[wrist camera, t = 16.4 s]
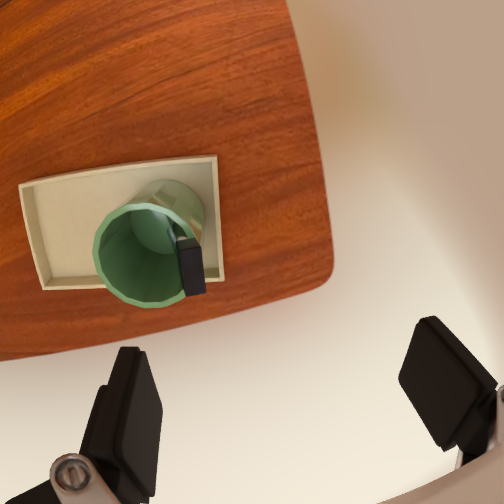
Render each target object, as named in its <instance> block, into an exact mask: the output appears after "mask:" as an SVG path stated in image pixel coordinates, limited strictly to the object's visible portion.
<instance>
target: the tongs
mask: <svg viewBox="0 0 504 504" xmlns="http://www.w3.org/2000/svg"><path fill="white" fill-rule="evenodd" d="M165 216H166V218H167V220H168V222H169V225H170V227H169V228H168V229H167V235H168V237H169V240H170V242H171V245H172V248H173V250H174V253H175V255H176V258H177V260H178V266H179V273H180V280H181V285H182V288H183V290H184V293H185V296H186V297H189V296H194V295H199V294H203V293H206V283H205V275H204V266H203V257H202V247H201V246H200V244H199V242H198V241H197V239H196V238H190V239H188V237H187V235H186V234H185V232H184V230H183V228H182V227H181V226H179V225H178V224H177V223H176V222H174V221H173V220H172V219H171V218H170V217H168V216H167V215H165Z"/></svg>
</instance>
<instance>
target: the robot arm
mask: <svg viewBox="0 0 504 504" xmlns="http://www.w3.org/2000/svg"><path fill="white" fill-rule="evenodd" d="M398 377H399V378H398V380H399V383H400V385H401V387H402V388H403V390H404V392H405V393H406V395H407V396H408V398H409V400H410V401H411V402H412V404H413V406H414V408H415V409H416V411H417V413H418V414H419V416H420V418H421V419H422V421H423V423H424V424H425V426H426V428H427V429H428V431H429V433H430V435H431V436H432V438H433V440H434V441H435V443H436V445H438V446H439V447H441V448H442V450H443V452H445V451H447V450H449V449H451V448H453V447H455V446H456V444H457V445H458V447H459V450H458V456H457V461H456V466H455V470H454V471H453V472H451V473H449V474H447V475H445V476H443V477H441V478H439V479H437V480H434V481H432V482H430V483H428V484H426V485H424V486H421V487H419V488H417V489H414V490H412V491H410V492H407V493H405V494H402V495H400V496H397V497H395V498H392V499H389V500H386V501H383V502H381V503H378V504H504V385H503V386H501V387H500V388H499V389H498V391H496V390H495V388H496V386H497V385H498V383H497V382H496V380H495V379H494V378H493V377H492V376H491V375H490V374H489V372H488V371H487V370H486V369H485V368H484V367H483V366H482V364H481V363H480V362H479V361H478V360H477V359H476V358H475V357H474V356H473V355H472V353H471V352H470V351H469V350H468V349H467V348H466V347H465V346H464V345H463V344H462V342H461V341H460V340H459V339H458V338H457V337H456V336H455V335H454V334H453V333H452V332H451V331H450V330H449V329H448V328H447V327H446V326H445V325H444V324H443V323H442V322H441V321H440V319H438V318H437V317H436V316H429V317H425V318H421V319H420V320H419V322H418V323H417V324H416V326H415V330H414V333H413V336H412V339H411V342H410V345H409V348H408V351H407V354H406V357H405V359H404V362H403V365H402V368H401V370H400V373H399V376H398ZM162 415H163V409H162V403H161V400H160V398H159V394H158V392H157V389H156V385H155V382H154V379H153V376H152V373H151V369H150V366H149V363H148V359H147V356H146V353H145V351H140V349H139V347H120V350H119V352H118V355H117V358H116V361H115V363H114V366H113V370H112V372H111V375H110V378H109V381H108V385H102V386H101V387H100V388H99V390H98V393H97V396H96V399H95V402H94V405H93V408H92V411H91V414H90V417H89V420H88V424H87V427H86V430H85V434H84V437H83V440H82V444H81V448H80V451H79V454H76V453H72V454H71V453H69V454H66V455H62V456H61V457H59V458H57V459H56V460H55V462H54V463H53V464H52V466H51V469H50V479H49V480H47V481H45V482H44V483H42V484H40V485H38V486H36V487H34V488H32V489H30V490H28V491H26V492H24V493H22V494H20V495H18V496H16V497H14V498H12V499H10V500H8V501H7V502H6V503H5V504H140V503H143V504H149V497H154V495H155V487H156V474H157V463H158V451H159V442H160V432H161V423H162Z"/></svg>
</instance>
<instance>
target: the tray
mask: <svg viewBox="0 0 504 504" xmlns="http://www.w3.org/2000/svg"><path fill="white" fill-rule="evenodd" d="M161 179H170V180H176V181H179V182H181V183H184V184H185V185H187V186H189V187H190V188H191V189H192V190H193V191H194V192H195V193H196V194H197V195H198V196H199V198H200V200H201V201H202V204H203V206H204V210H205V216H206V229H205V239H204V249H203V266H204V275H205V282H217V281H224V265H223V251H222V236H221V221H220V204H219V186H218V167H217V154H210V155H197V156H184V157H173V158H163V159H154V160H145V161H137V162H129V163H122V164H115V165H108V166H102V167H95V168H89V169H83V170H78V171H72V172H67V173H61V174H56V175H51V176H47V177H42V178H37V179H33V180H30V181H27V182H25V183H22V184H19V185H18V187H19V194H20V200H21V205H22V211H23V216H24V221H25V226H26V230H27V235H28V239H29V243H30V247H31V251H32V255H33V259H34V262H35V266H36V269H37V273H38V276H39V279H40V283H41V286H42V289H43V290H59V289H88V288H107V287H106V286H105V284H104V283H103V281H102V280H101V278H100V277H99V275H98V274H97V272H96V268H95V264H94V259H93V255H92V249H93V243H94V237H95V233H96V230H97V229H98V227H99V226H100V224H101V223H102V222H103V220H104V219H105V217H106V216H107V215H108V214H109V213H110V212H111V211H112V210H114V209H115V208H116V207H117V206H118V205H120V204H121V203H122V202H123V201H125V200H126V199H127V198H128V197H129V196H131V195H132V194H133V193H134V192H136V191H137V190H138V189H140V188H141V187H143V186H145V185H146V184H148V183H150V182H153V181H156V180H161Z"/></svg>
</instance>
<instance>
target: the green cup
mask: <svg viewBox="0 0 504 504" xmlns="http://www.w3.org/2000/svg"><path fill="white" fill-rule="evenodd" d="M165 215H167V216H168V217H170V218H171V219H172V220H173V221H174V222H176V223H177V224H178V225H179V226H181V227H182V228H183V230H184V232H185V234H186V235H187V237H188V239H190V238H196V239H197V241H198V242H199V244H200V246H201V247H202V257H203V249H204V239H205V229H206V216H205V210H204V206H203V204H202V201H201V200H200V198H199V196H198V195H197V194H196V193H195V192H194V191H193V190H192V189H191V188H190V187H189V186H187V185H185V184H184V183H181V182H179V181H176V180H170V179H161V180H156V181H153V182H150V183H148V184H146V185H145V186H143V187H141V188H140V189H138V190H137V191H136V192H134V193H133V194H132V195H131V196H129V197H128V198H127V199H126V200H125V201H123V202H122V203H121V204H120V205H118V206H117V207H116V208H115V209H114V210H112V211H111V212H110V213H109V214H108V215H107V216H106V217H105V219H104V220H103V222H102V223H101V224H100V226H99V227H98V229H97V230H96V233H95V237H94V243H93V249H92V255H93V259H94V264H95V268H96V272H97V274H98V275H99V277H100V278H101V280H102V281H103V283H104V284H105V286H106V287H107V289H108V290H109V291H111V292H112V293H113V294H114V295H116V296H117V297H119V298H120V299H121V300H123V301H124V302H126V303H129V304H132V305H136V306H139V307H142V308H160V307H166V306H168V305H171V304H173V303H175V302H177V301H180V300H182V299H183V298H184V297H185V293H184V290H183V288H182V285H181V280H180V273H179V266H178V260H177V258H176V255H175V253H174V250H173V248H172V245H171V242H170V240H169V237H168V235H167V229H168V228H169V227H170V225H169V222H168V220H167V218H166V216H165Z"/></svg>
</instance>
